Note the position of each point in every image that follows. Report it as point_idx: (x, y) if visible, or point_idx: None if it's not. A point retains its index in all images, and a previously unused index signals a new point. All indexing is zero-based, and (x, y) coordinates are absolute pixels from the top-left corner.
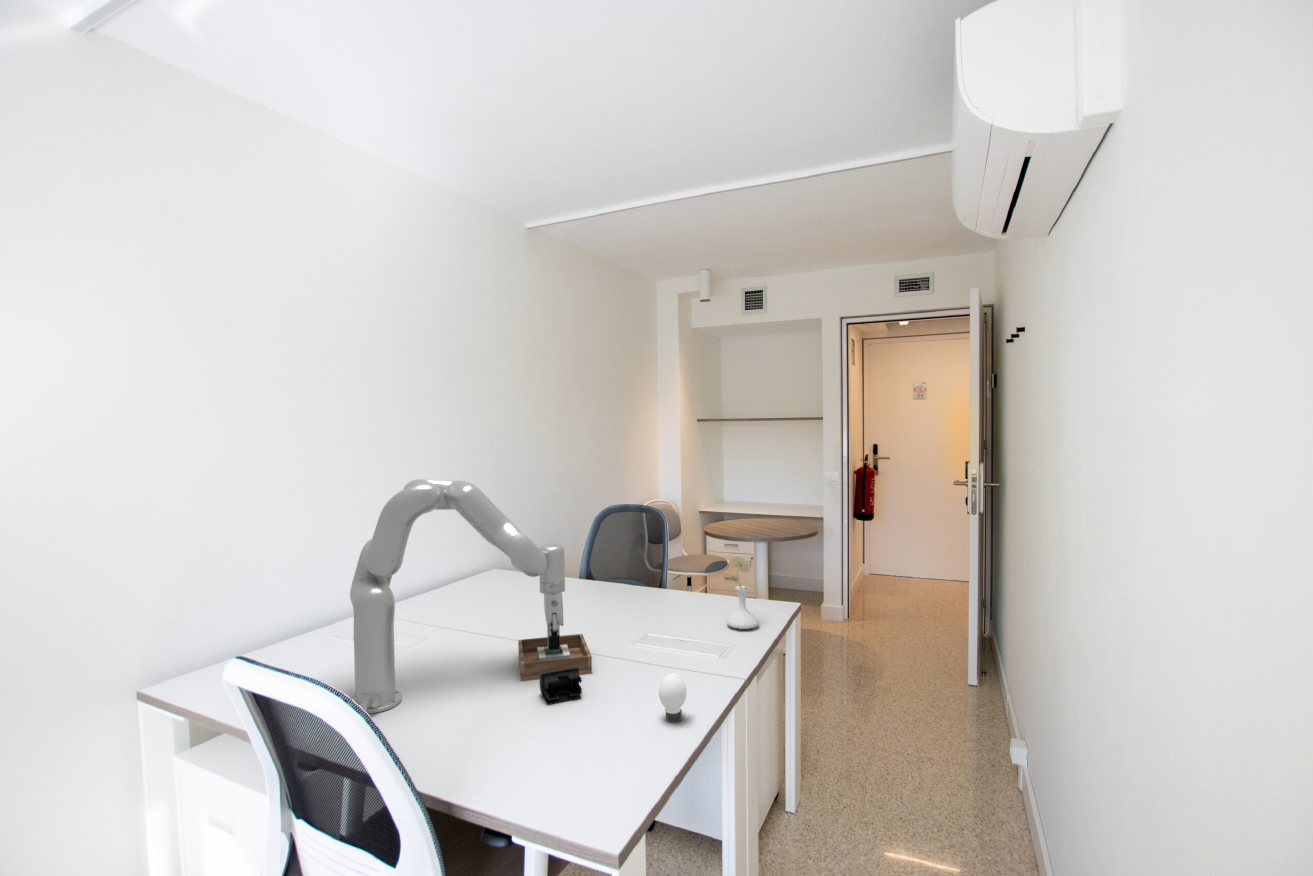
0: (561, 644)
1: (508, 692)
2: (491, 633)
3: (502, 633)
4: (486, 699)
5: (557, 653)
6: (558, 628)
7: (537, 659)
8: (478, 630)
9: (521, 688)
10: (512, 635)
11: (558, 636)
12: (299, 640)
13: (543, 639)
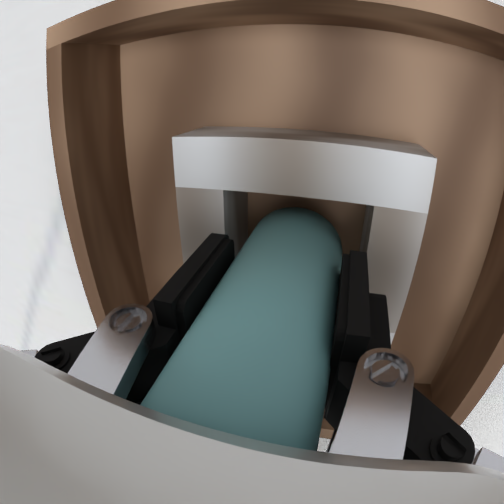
0: (106, 161)
1: (487, 412)
2: (15, 333)
3: (9, 312)
4: (480, 445)
5: (337, 240)
6: (402, 453)
7: None
8: (11, 347)
9: (491, 383)
10: (11, 295)
11: (365, 342)
12: None
13: (100, 286)
